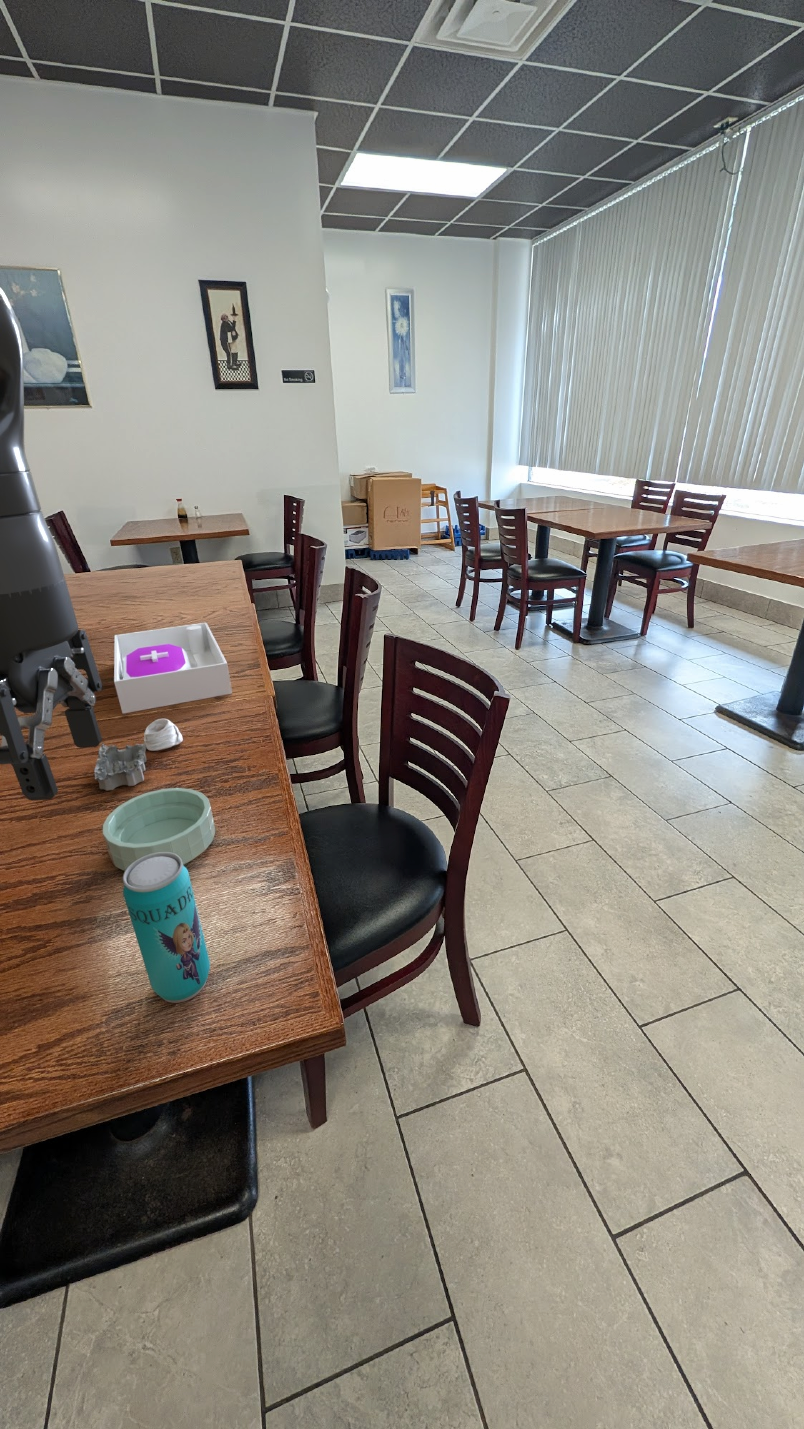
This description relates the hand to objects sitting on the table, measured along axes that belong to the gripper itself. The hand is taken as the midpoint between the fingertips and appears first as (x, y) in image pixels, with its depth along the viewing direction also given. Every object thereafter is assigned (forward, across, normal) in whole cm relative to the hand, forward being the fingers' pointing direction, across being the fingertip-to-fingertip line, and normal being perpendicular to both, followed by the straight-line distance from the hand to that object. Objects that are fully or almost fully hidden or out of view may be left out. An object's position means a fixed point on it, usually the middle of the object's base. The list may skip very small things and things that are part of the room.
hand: (68, 769), depth 50 cm
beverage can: (+26, +1, +5) cm, 26 cm away
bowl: (+25, -23, -4) cm, 34 cm away
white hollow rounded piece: (+26, -53, -14) cm, 61 cm away
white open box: (+26, -88, -22) cm, 95 cm away
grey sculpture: (+26, -43, -17) cm, 53 cm away
